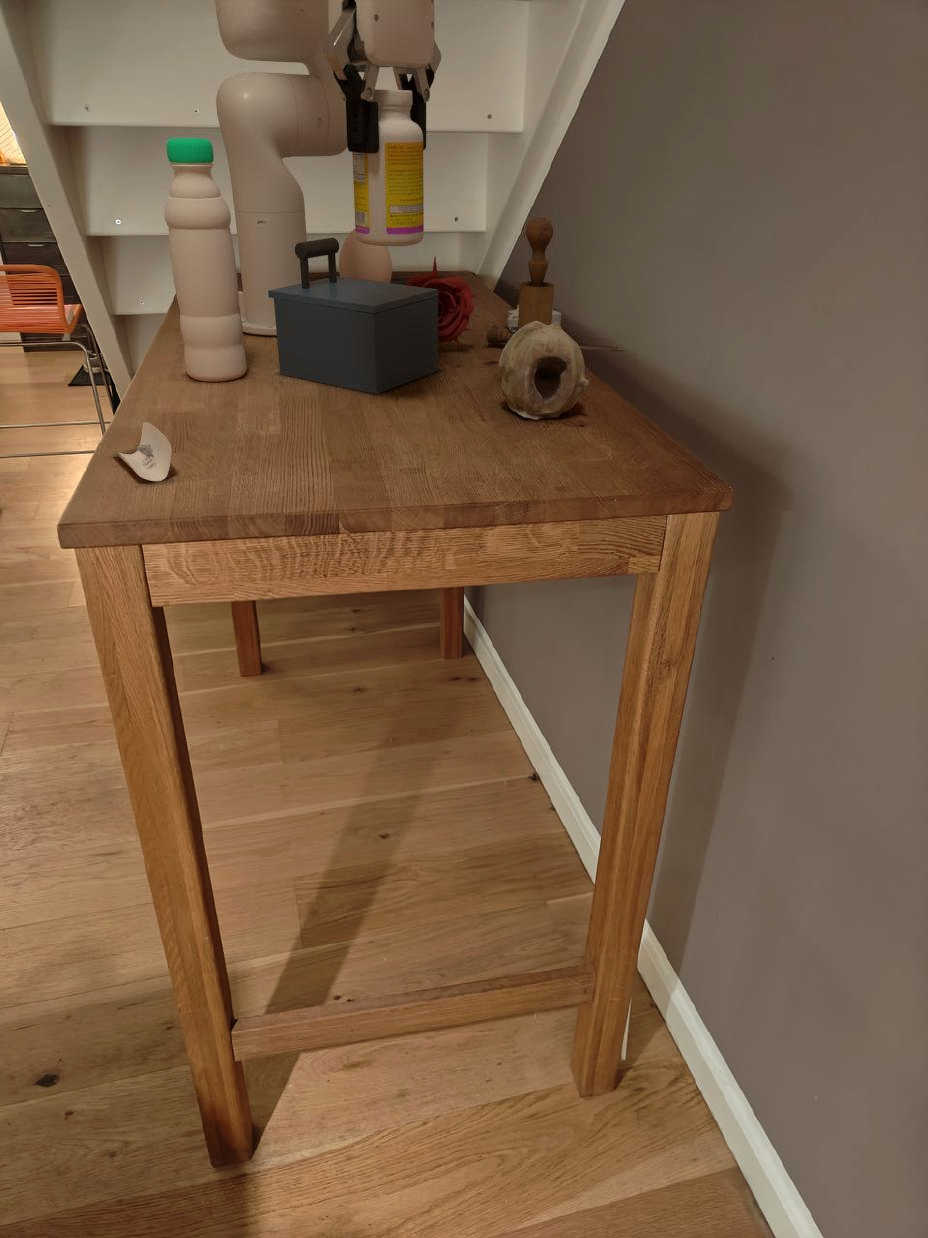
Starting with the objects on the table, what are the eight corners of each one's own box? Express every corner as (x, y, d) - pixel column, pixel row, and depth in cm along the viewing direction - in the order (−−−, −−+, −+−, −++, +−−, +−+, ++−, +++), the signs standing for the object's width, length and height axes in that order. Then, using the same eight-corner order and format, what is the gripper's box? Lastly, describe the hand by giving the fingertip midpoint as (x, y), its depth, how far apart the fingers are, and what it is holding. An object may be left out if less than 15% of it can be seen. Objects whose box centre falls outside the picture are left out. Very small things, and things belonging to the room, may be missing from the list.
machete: (638, 340, 122) (644, 346, 117) (634, 360, 123) (639, 366, 118) (487, 320, 121) (487, 325, 117) (485, 340, 122) (485, 346, 118)
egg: (395, 305, 143) (394, 229, 137) (342, 306, 142) (338, 229, 136) (389, 295, 150) (388, 222, 145) (338, 296, 149) (335, 222, 143)
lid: (268, 297, 102) (263, 243, 100) (337, 282, 112) (334, 233, 109) (373, 313, 95) (371, 256, 93) (438, 296, 105) (438, 243, 102)
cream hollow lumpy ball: (500, 430, 97) (473, 340, 94) (556, 405, 101) (533, 317, 97) (554, 427, 89) (527, 328, 86) (613, 399, 93) (589, 304, 90)
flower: (477, 265, 139) (483, 253, 110) (475, 343, 143) (481, 351, 114) (397, 263, 139) (383, 251, 110) (397, 342, 142) (384, 350, 114)
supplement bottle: (433, 240, 88) (434, 90, 81) (408, 249, 83) (407, 90, 76) (372, 235, 90) (368, 88, 83) (343, 244, 84) (337, 87, 78)
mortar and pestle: (566, 378, 107) (578, 216, 98) (547, 391, 102) (559, 222, 93) (515, 371, 110) (523, 213, 101) (495, 384, 104) (501, 218, 95)
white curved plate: (144, 416, 81) (110, 412, 79) (173, 441, 75) (138, 436, 73) (138, 455, 82) (105, 451, 80) (167, 482, 76) (132, 478, 75)
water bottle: (232, 384, 102) (204, 139, 89) (176, 380, 103) (140, 137, 91) (256, 369, 108) (233, 137, 95) (203, 365, 109) (173, 136, 97)
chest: (280, 374, 107) (273, 298, 102) (345, 353, 116) (342, 283, 111) (376, 394, 100) (373, 313, 95) (438, 370, 109) (438, 296, 105)
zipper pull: (490, 342, 119) (490, 309, 117) (512, 322, 135) (513, 292, 133) (548, 345, 118) (549, 311, 116) (563, 324, 133) (565, 294, 131)
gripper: (408, -75, 81) (409, 145, 90) (277, -109, 68) (294, 151, 77) (477, -80, 77) (471, 149, 87) (353, -116, 65) (361, 157, 74)
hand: (387, 148), depth 82 cm, fingers closed on supplement bottle, 6 cm apart
